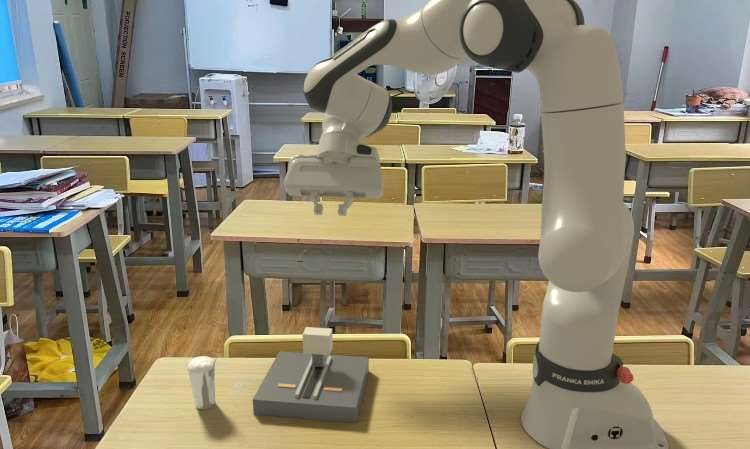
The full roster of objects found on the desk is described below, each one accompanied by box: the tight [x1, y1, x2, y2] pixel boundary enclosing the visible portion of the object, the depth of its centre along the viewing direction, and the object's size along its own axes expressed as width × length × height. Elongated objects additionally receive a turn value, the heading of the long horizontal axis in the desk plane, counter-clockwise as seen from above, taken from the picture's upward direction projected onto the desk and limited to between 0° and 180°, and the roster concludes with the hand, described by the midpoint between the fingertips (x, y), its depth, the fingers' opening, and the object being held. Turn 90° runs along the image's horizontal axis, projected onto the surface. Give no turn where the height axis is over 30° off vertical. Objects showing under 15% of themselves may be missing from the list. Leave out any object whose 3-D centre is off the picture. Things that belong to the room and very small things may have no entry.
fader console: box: [252, 351, 370, 424], centre depth 101 cm, size 18×16×4 cm
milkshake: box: [187, 356, 218, 411], centre depth 95 cm, size 5×5×10 cm
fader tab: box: [302, 326, 334, 367], centre depth 102 cm, size 5×3×7 cm, turn 83°
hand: (329, 214), depth 108 cm, fingers open, 3 cm apart
